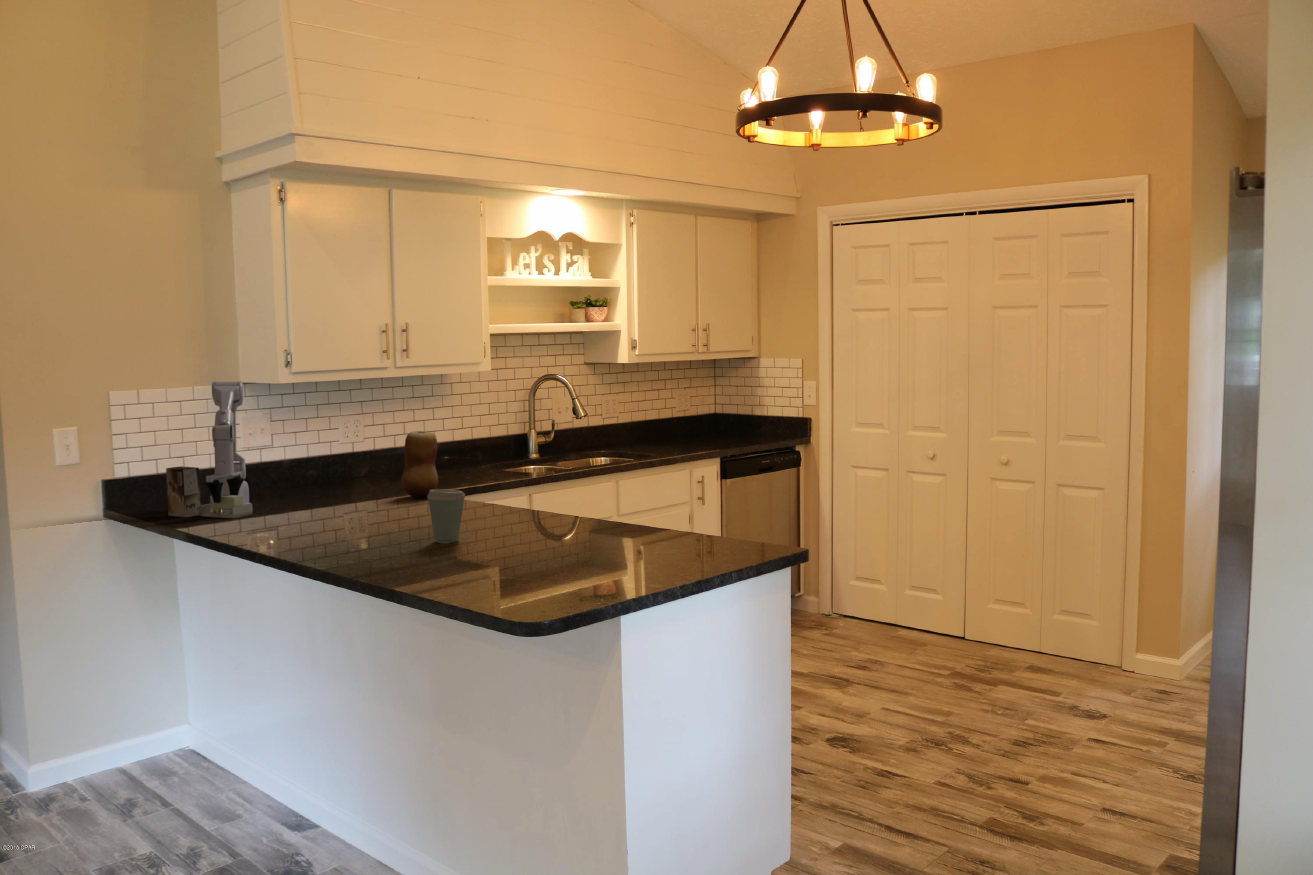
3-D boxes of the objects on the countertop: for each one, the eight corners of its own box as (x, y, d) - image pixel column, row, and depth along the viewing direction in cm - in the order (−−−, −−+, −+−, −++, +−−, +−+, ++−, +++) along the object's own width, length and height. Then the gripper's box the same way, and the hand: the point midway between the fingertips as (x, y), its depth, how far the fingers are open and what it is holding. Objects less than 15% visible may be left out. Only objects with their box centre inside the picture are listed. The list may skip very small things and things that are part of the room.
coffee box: (202, 515, 337) (200, 467, 335) (185, 517, 331) (183, 469, 330) (183, 513, 341) (182, 465, 340) (166, 515, 335) (165, 467, 334)
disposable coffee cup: (449, 536, 296) (449, 486, 294) (474, 541, 289) (473, 489, 287) (420, 542, 287) (419, 489, 286) (444, 546, 281) (443, 493, 279)
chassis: (199, 516, 334) (198, 505, 334) (219, 512, 343) (218, 501, 342) (233, 518, 330) (232, 507, 329) (252, 514, 338) (252, 503, 338)
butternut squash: (433, 500, 371) (432, 432, 369) (397, 500, 371) (396, 432, 369) (442, 495, 385) (441, 429, 383) (407, 494, 385) (406, 429, 383)
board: (210, 507, 335) (209, 496, 335) (219, 506, 339) (218, 494, 339) (234, 509, 332) (234, 497, 332) (243, 507, 336) (242, 495, 336)
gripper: (217, 463, 326) (219, 504, 328) (249, 458, 340) (250, 498, 341) (200, 462, 329) (201, 503, 330) (232, 458, 342) (233, 497, 343)
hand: (225, 501), depth 336 cm, fingers open, 7 cm apart
